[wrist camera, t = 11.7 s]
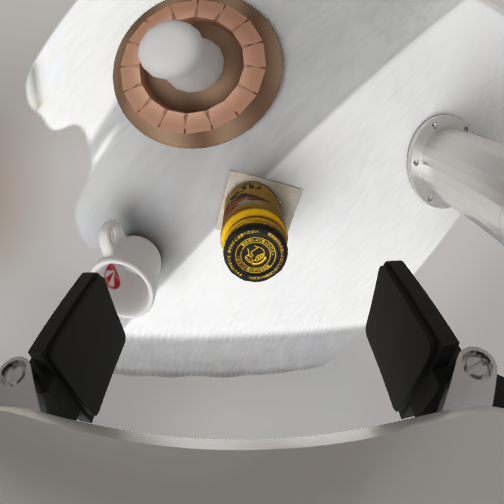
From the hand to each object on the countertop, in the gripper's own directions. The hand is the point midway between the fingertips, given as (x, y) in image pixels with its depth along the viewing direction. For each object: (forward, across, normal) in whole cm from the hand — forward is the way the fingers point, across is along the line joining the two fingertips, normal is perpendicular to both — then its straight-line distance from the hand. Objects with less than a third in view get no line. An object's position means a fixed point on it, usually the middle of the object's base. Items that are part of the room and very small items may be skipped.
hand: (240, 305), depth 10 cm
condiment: (+26, -1, +6) cm, 26 cm away
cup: (+25, +15, +10) cm, 31 cm away
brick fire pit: (+25, +5, -10) cm, 28 cm away
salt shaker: (+24, +5, -10) cm, 27 cm away
